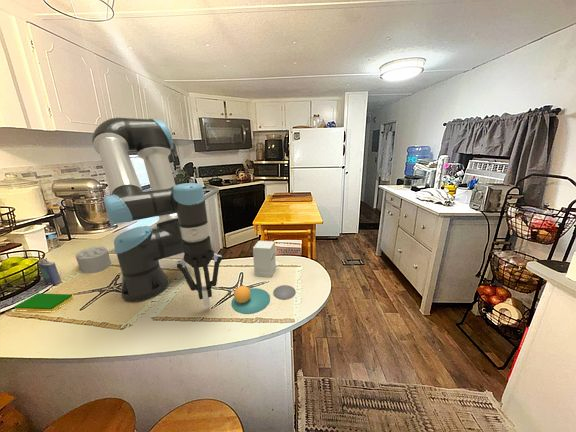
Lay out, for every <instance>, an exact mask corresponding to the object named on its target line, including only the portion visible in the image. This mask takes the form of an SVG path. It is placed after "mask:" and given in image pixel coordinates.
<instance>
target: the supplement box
mask: <svg viewBox="0 0 576 432" xmlns="http://www.w3.org/2000/svg"><path fill="white" fill-rule="evenodd" d="M275 245H276V243H275V241H273V240H258V241H257V242H256V243H255V245H254V246H253V247H252V257H253V268H254V269H253V270H254V276H256V277H264V278H265V277H267V278H272V277H273V274H274V272H275V270H276V268H277V266H276V265H277V263H276V262H277V261H276V246H275Z"/></svg>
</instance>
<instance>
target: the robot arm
mask: <svg viewBox="0 0 576 432" xmlns="http://www.w3.org/2000/svg"><path fill="white" fill-rule="evenodd" d="M91 139H92V140H91V141H92V146H93V149H94V151H95V152H96V153H97V154H98V155H99V156H100V160H101V164H102V167H103V171H104V174H105V177H106V182H107V185H108V189H109V192H110V195H108V196H107V195H106V196H105V197H103V204H104V208H105V212H106V214H107V219H108V221H109V222H110V223H111V224H123V223H130V222H135V221H140V220H144V219H149V218H156V217H158V220H157V222H156V223H155V224H156V228H152V227H151V226H150V225H141V226H136V227H133V228H129V229H127V230H125V231H122V232H121V233H119V234H117V236H116V237H115V238H114V239H113V245H114V253H115V254H116V256H117V257H116V258H117V260H118V263H119V268H120V272H121V275H122V280H121V286H120V294H121V298H122V300H124V301H125V302H131V303H134V302H136V303H137V302H141V301H145V300H149V299H151V298H155V297H156V296H158V295H159V294H161V293H162V292H164V291H165V290H166V289H168V286H169V284H170V282H169V281H170V280H169V277H168V276H167V274H166V272H165V271H164V269H163V268H162V266H161V265H160V260H163V259H167V258H170V257H174V256H177V255H181V254H183V258H182V259H181V260H178V261H177V262H176V266H175V267H176V268H177V269H178V270H179V271H180V272H181V274H182V275H183V277H184V279H185V282H186V284H187V286H188V287H189V289H190V291H191V292H193V291H197V294H198V299H199V300H202V301H203V306H204V310H207V309H210V308H211V305H210V304H211V303H210V298H212V296H213V292H212V291H213V290H212V287H216V286H217V285H218V284H217V283H218V274H219V268H220V264H221V262H222V260H223V256H222V254H221V253H215V251H214V250H213V248H212V241H211V236H209V235H210V229H209V228H210V227H209V221H208V214H207V213H208V212H207V205H206V201H205V200H206V195H205V193H204V188H203V186H202V184H201V183H198V182H197V183H196V182H187V183H186V182H185V183H179V184H176V182H175V179H174V175H173V170H172V168H171V164H170V160H169V156H170V155H171V153H172V152H171V150H173V148H174V141H173V136H172V133H171V130H170V128H169V126H168V125H167V123H166V122H165V121H164V120H161V119H155V118H134V117H132V118H130V117H129V118H127V117H113V118H109V119H106V120H105V121H102V122H101V123H100V124H99V125H98V126H97V127H96V128H95V130H94V131H93V134H92V138H91ZM129 152H136V154H137V156H138V157H139V158H140V159H142V160H143V162H144V166H145V170H146V173H147V178H148V181H149V185H150V189H151V190H146V191H143V188H142V186H141V183H140V180H139V178H138V176H137V172H136V170H135V168H134V165H133V163H132V160H131V158H130V155H129ZM212 259H213V261H214V264H213V273H212V278H211V277H210V272H209V264H210V263H211V261H212ZM187 264H188V265H189V266H190V267H191V268H193V272H194V277H195V280H194V279H193V277H192V275H191V272H190V271H189V268H188V267H187ZM200 268H202V270H203V275H204V281H205V285H203V283H202V277H201V272H200Z"/></svg>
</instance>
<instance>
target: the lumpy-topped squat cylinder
mask: <svg viewBox="0 0 576 432" xmlns="http://www.w3.org/2000/svg"><path fill="white" fill-rule="evenodd" d="M75 259H76V262H77V265H78V268H79V270H80V272H82V273H83V274H96V273H99V272H103V271H105V270H107V269H109V268H110V267H111V265H112V260H111V257H110V255H109V250H108V249H107V248H106V247H105V246H103V245H102V246H91V247H88V248H84V249H82V250H80V251H79V252H77V253H75Z"/></svg>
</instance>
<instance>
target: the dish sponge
mask: <svg viewBox="0 0 576 432" xmlns="http://www.w3.org/2000/svg"><path fill="white" fill-rule="evenodd" d="M71 300H72V301H73V300H74V297H73V294H69V293H67V294H66V293H63V294H62V293H39V292H38V293H36V294H34V295H33V296H31V297H29V298H27V299H25V300H23V301H21V302H20V303H18V304H16V305H14V308H15V311H16V310H27V311H51V312H52V311H54V310H56V309H57V308H59V307H60V306H62V305H64V304H65V305H67V304H68V302H69V303H70V302H72V301H71ZM66 303H67V304H66ZM65 305H64V306H65ZM62 307H63V306H62ZM59 309H60V308H59ZM56 311H57V310H56Z"/></svg>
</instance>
